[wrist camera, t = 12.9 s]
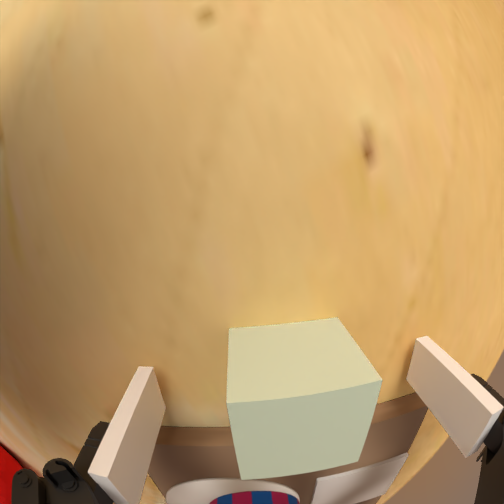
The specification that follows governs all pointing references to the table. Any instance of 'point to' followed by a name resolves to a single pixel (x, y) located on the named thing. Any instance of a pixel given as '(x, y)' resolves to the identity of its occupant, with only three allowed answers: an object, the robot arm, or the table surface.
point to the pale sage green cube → (298, 397)
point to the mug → (256, 498)
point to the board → (300, 485)
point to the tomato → (7, 475)
